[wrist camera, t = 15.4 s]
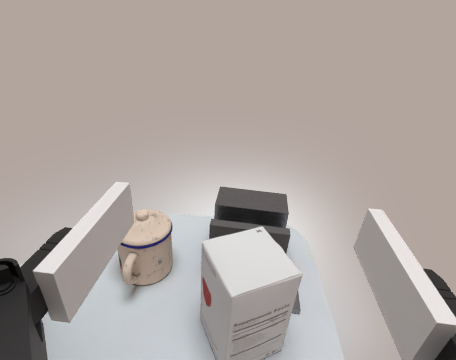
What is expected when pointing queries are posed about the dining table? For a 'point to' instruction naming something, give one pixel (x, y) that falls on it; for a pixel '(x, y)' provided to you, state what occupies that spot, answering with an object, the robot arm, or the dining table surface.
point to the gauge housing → (253, 211)
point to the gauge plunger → (229, 227)
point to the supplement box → (246, 294)
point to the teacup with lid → (146, 248)
